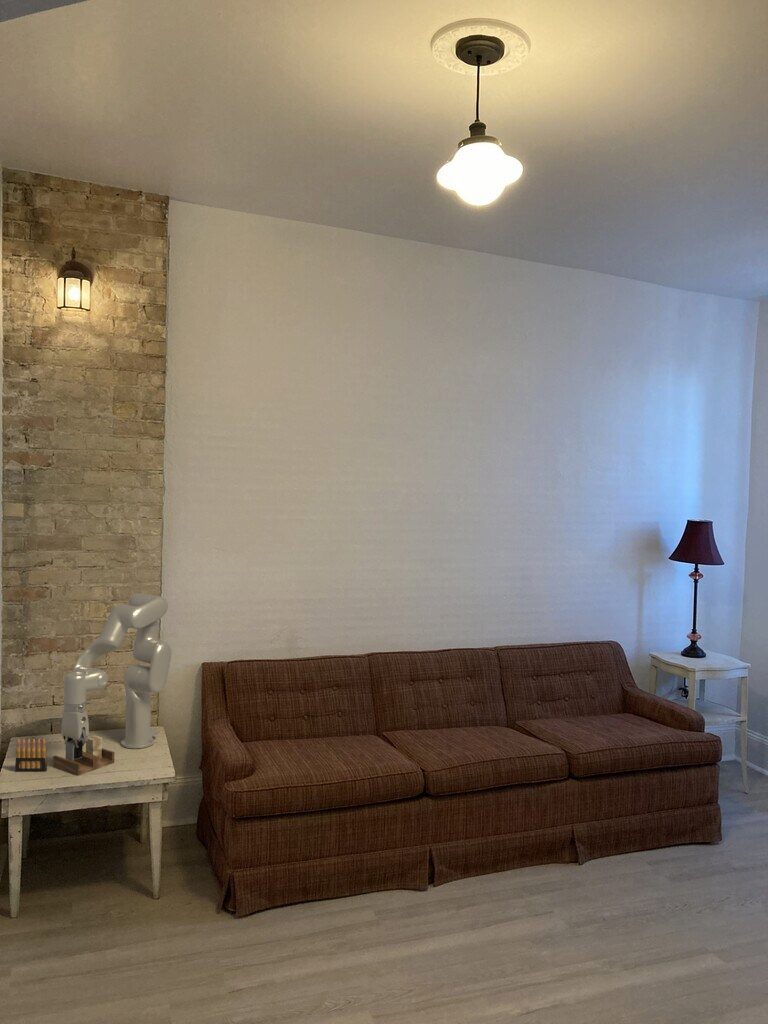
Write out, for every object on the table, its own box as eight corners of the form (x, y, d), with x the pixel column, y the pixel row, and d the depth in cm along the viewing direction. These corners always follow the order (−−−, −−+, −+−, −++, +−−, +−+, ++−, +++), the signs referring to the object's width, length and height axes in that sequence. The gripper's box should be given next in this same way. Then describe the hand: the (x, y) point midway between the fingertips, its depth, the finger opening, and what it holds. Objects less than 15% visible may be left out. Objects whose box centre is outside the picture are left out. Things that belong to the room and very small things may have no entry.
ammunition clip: (14, 771, 295) (15, 739, 294) (16, 770, 296) (16, 737, 296) (45, 771, 296) (46, 739, 295) (47, 769, 298) (47, 737, 297)
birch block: (94, 756, 310) (94, 735, 309) (101, 758, 308) (101, 737, 307) (85, 759, 306) (86, 738, 306) (92, 761, 304) (93, 740, 304)
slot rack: (89, 754, 314) (89, 744, 314) (114, 762, 307) (114, 752, 306) (53, 766, 300) (53, 756, 300) (78, 775, 293) (78, 764, 293)
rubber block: (74, 755, 302) (75, 739, 302) (81, 757, 300) (82, 741, 300) (65, 758, 299) (65, 742, 298) (72, 760, 297) (72, 744, 296)
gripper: (98, 708, 297) (97, 758, 298) (69, 700, 306) (68, 748, 307) (81, 713, 291) (80, 764, 292) (51, 704, 300) (50, 754, 301)
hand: (73, 755), depth 299 cm, fingers closed on rubber block, 4 cm apart
